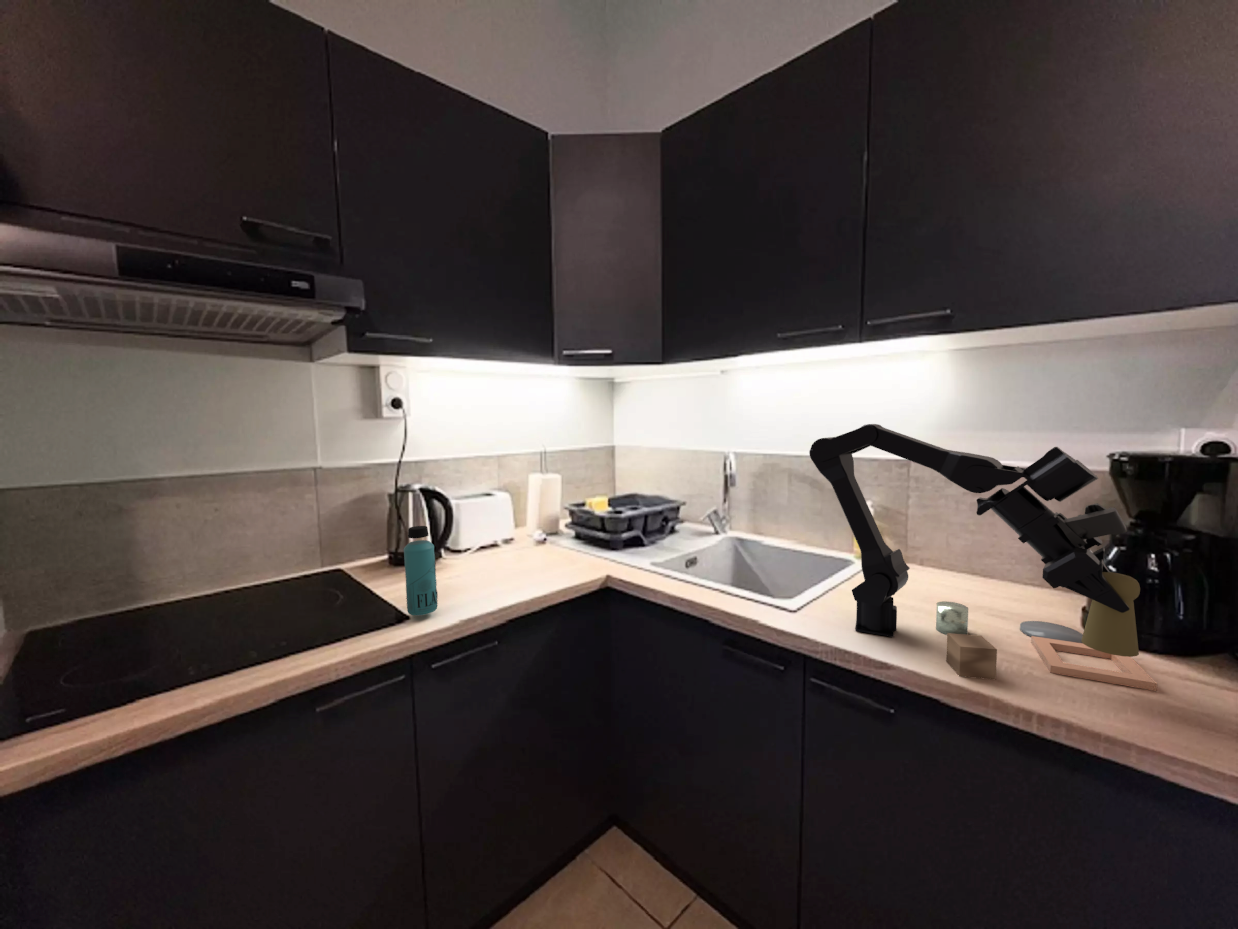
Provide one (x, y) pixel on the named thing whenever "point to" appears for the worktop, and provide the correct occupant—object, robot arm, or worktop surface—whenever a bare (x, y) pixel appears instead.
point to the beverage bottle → (420, 573)
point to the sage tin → (951, 618)
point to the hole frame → (1129, 676)
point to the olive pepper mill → (1114, 620)
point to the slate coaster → (1050, 631)
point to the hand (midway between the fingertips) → (1126, 605)
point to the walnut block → (971, 656)
